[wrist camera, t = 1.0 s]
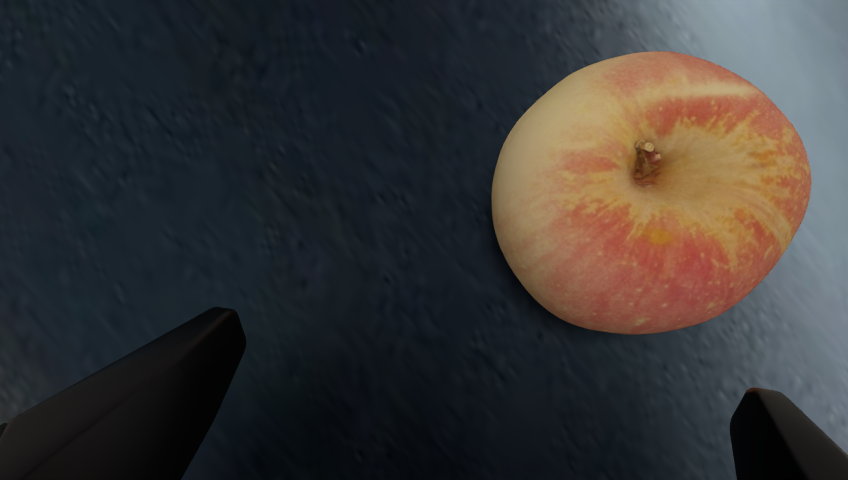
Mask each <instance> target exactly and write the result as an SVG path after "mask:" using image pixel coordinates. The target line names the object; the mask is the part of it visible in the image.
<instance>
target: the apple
mask: <svg viewBox="0 0 848 480" xmlns="http://www.w3.org/2000/svg"><path fill="white" fill-rule="evenodd" d="M810 190H811V171H810V166H809V162H808V158H807V154H806V151H805V148H804V146H803V143H802V140H801V138H800V137H799V135H798V133H797V131H796V130H795V128H794V127H793V125H792V124H791V123H790V121H789V120H788V119H787V118H786V116H785V115H784V114H783V113H782V112H781V111H780V110H779V109H778V108H777V107H776V105H775V104H774V103H773V102H772V101H771V100H770V99H769V98H768V97H767V96H766V95H765V94H764V93H763V92H762V91H761V90H759V89H758V88H757V87H755V86H754V85H753V84H751V83H750V82H749V81H747V80H745V79H743V78H742V77H740V76H738V75H737V74H735V73H733V72H731V71H729V70H727V69H725V68H723V67H721V66H719V65H716V64H714V63H711V62H709V61H706V60H703V59H700V58H697V57H693V56H690V55H685V54H680V53H676V52H641V53H634V54H628V55H624V56H619V57H615V58H611V59H607V60H604V61H601V62H598V63H595V64H592V65H590V66H587V67H585V68H582V69H580V70H578V71H576V72H574V73H572V74H571V75H569V76H567V77H566V78H565V79H563V80H562V81H560V82H559V83H557V84H556V85H555V86H554V87H553V88H551V89H550V90H549V91H548V92H547V93H546V94H544V95H543V96H542V97H541V98H540V99H539V100H537V101H536V102H535V103H534V104H533V105H532V106H531V107H530V108H529V109H528V110H527V111H526V113H525V114H524V115H523V116H522V117H521V118H520V119H519V120H518V122H517V123H516V124H515V126H514V127H513V129H512V130H511V132H510V133H509V135H508V137H507V139H506V141H505V143H504V144H503V147H502V150H501V152H500V155H499V158H498V162H497V165H496V169H495V173H494V178H493V184H492V216H493V224H494V228H495V233H496V236H497V240H498V243H499V245H500V248H501V250H502V252H503V254H504V256H505V259H506V260H507V262H508V264H509V266H510V267H511V269H512V271H513V272H514V274H515V275H516V277H517V278H518V279H519V281H520V282H521V283H522V285H523V286H524V287H525V289H526V290H527V291H528V292H529V293H530V294H531V296H532V297H533V298H534V299H535V300H536V301H537V302H538V303H540V304H541V305H542V306H543V307H544V308H545V309H547V310H548V311H549V312H551V313H552V314H554V315H555V316H557V317H558V318H560V319H562V320H564V321H566V322H568V323H571V324H574V325H577V326H580V327H583V328H587V329H591V330H597V331H603V332H610V333H619V334H650V333H659V332H665V331H671V330H676V329H681V328H685V327H689V326H693V325H696V324H699V323H702V322H705V321H708V320H710V319H712V318H714V317H716V316H719V315H720V314H722V313H723V312H725V311H727V310H728V309H729V308H731V307H732V306H734V305H735V304H736V303H738V302H739V301H741V300H742V299H743V298H744V297H745V296H746V295H747V294H748V293H750V292H751V291H752V290H753V289H754V288H755V287H756V286H757V285H758V284H759V283H760V282H761V281H762V280H763V279H764V278H765V277H766V276H767V275H768V273H769V272H770V271H771V270H772V268H773V267H774V266H775V265H776V263H777V262H778V260H779V259H780V258H781V256H782V255H783V253H784V252H785V251H786V249H787V247H788V245H789V244H790V242H791V240H792V238H793V237H794V235H795V233H796V231H797V230H798V228H799V226H800V224H801V222H802V220H803V218H804V215H805V212H806V209H807V206H808V202H809V198H810Z"/></svg>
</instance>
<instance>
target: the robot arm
mask: <svg viewBox="0 0 848 480" xmlns="http://www.w3.org/2000/svg"><path fill="white" fill-rule="evenodd" d="M245 347H246V337H245V334H244V331H243V328H242V325H241V322H240V319H239V316H238V314H237V312H236V311H235V310H233V309H228V308H221V307H214V308H211V309H209V310H207V311H205V312H204V313H202V314H200V315H198V316H196V317H195V318H193V319H191V320H189V321H187V322H186V323H184V324H182V325H180V326H178V327H177V328H175V329H173V330H171V331H169V332H168V333H166V334H164V335H162V336H160V337H159V338H157V339H155V340H153V341H151V342H150V343H148V344H146V345H144V346H142V347H141V348H139V349H137V350H135V351H133V352H132V353H130V354H128V355H126V356H124V357H123V358H121V359H119V360H117V361H115V362H114V363H112V364H110V365H108V366H106V367H105V368H103V369H101V370H99V371H97V372H96V373H94V374H92V375H90V376H88V377H87V378H85V379H83V380H81V381H79V382H78V383H76V384H74V385H72V386H70V387H69V388H67V389H65V390H63V391H61V392H60V393H58V394H56V395H54V396H52V397H51V398H49V399H47V400H45V401H43V402H42V403H40V404H38V405H36V406H34V407H33V408H31V409H29V410H27V411H25V412H24V413H22V414H20V415H18V416H16V417H15V418H13V419H11V420H10V421H9V422H8V423H4V424H2V425H0V480H181V478H182V477H183V475H184V473H185V471H186V470H187V468H188V466H189V464H190V462H191V461H192V459H193V457H194V455H195V454H196V452H197V450H198V448H199V446H200V445H201V443H202V441H203V439H204V438H205V436H206V434H207V432H208V430H209V428H210V427H211V425H212V423H213V421H214V419H215V417H216V415H217V412H218V410H219V408H220V406H221V404H222V401H223V399H224V397H225V394H226V392H227V390H228V388H229V385H230V383H231V381H232V378H233V376H234V374H235V372H236V369H237V367H238V365H239V363H240V360H241V358H242V356H243V353H244V351H245ZM730 436H731V443H732V449H733V456H734V463H735V469H736V476H737V480H848V455H847V454H846V453H845V452H844V451H843V450H842V449H841V448H840V447H839V446H838V445H837V444H835V443H834V442H833V441H832V440H831V439H830V438H829V437H828V436H827V435H826V434H825V433H824V432H823V431H822V430H821V429H820V428H819V427H818V426H817V425H816V424H815V423H813V422H812V421H811V420H810V419H809V418H808V417H807V416H806V415H805V414H804V413H803V412H802V411H801V410H800V409H799V408H798V407H797V406H796V405H795V404H794V403H793V402H791V401H790V400H789V399H788V398H787V397H786V396H785V395H784V394H782V393H781V392H778V391H774V390H768V389H761V388H750V389H749V390H747V391H746V393H745V394H744V396H743V398H742V400H741V402H740V404H739V405H738V407H737V409H736V411H735V413H734V414H733V416H732V418H731V422H730Z"/></svg>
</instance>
